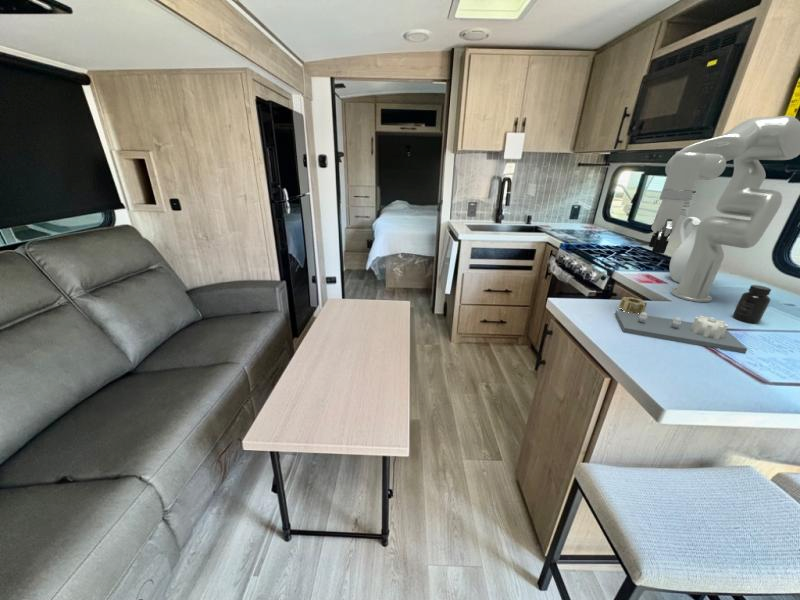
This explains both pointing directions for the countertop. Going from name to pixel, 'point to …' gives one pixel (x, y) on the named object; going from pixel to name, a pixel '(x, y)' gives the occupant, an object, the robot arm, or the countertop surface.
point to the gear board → (681, 330)
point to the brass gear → (632, 305)
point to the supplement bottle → (752, 304)
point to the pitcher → (683, 249)
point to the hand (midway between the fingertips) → (655, 250)
